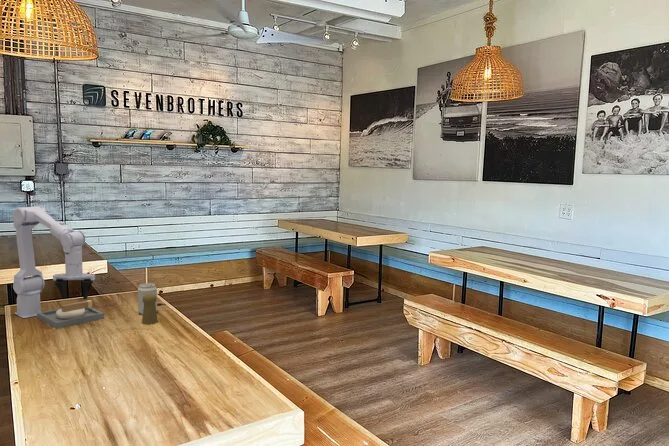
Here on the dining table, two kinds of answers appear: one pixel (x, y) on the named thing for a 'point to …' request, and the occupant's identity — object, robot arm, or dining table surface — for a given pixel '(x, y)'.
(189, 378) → the dining table surface
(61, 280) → the robot arm
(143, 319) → the cork
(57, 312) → the dial
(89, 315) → the slate tray
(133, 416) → the dining table surface
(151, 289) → the can
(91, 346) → the dining table surface
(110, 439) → the dining table surface
